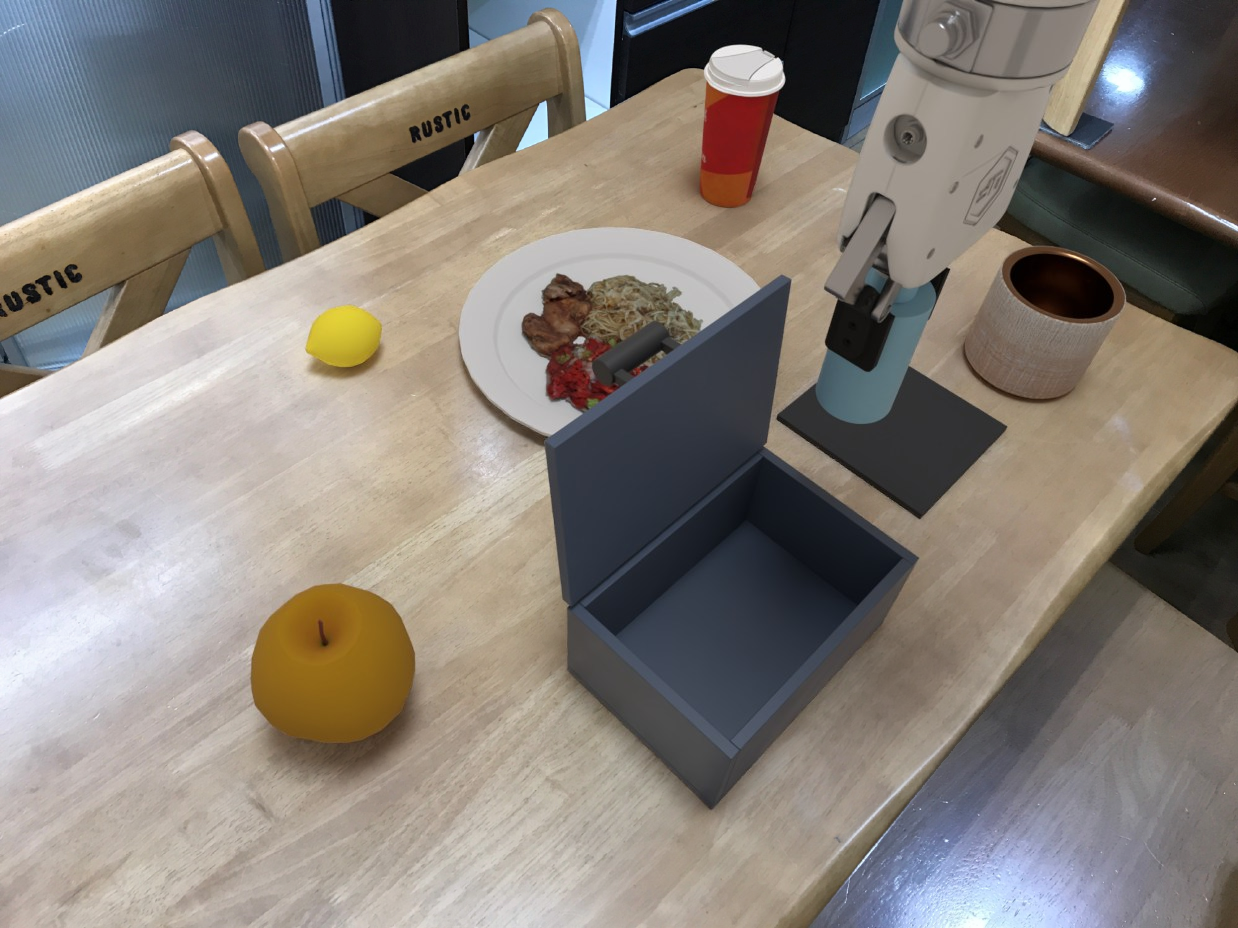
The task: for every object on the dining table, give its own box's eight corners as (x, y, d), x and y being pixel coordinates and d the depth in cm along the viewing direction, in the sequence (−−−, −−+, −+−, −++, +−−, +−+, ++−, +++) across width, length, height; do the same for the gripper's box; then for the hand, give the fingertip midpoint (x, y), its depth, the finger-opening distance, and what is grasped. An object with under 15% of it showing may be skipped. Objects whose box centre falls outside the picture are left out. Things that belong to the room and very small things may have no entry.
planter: (1054, 421, 80) (1104, 343, 72) (943, 367, 84) (979, 287, 76) (1094, 356, 85) (1144, 278, 78) (987, 308, 89) (1025, 229, 82)
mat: (1005, 430, 79) (1007, 426, 78) (919, 519, 72) (922, 514, 72) (866, 344, 85) (867, 340, 85) (776, 418, 78) (777, 414, 78)
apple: (278, 790, 56) (222, 716, 47) (278, 654, 62) (228, 565, 53) (433, 757, 58) (407, 679, 49) (419, 628, 64) (393, 537, 55)
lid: (792, 279, 54) (728, 246, 56) (554, 448, 45) (490, 401, 47) (767, 443, 64) (714, 410, 67) (570, 607, 55) (518, 561, 58)
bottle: (906, 396, 56) (965, 260, 47) (864, 436, 53) (917, 301, 45) (843, 357, 58) (889, 221, 49) (800, 394, 55) (840, 257, 47)
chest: (883, 621, 66) (919, 557, 59) (711, 810, 57) (731, 759, 50) (743, 514, 72) (761, 444, 65) (566, 669, 63) (566, 607, 56)
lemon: (375, 328, 84) (365, 283, 79) (397, 364, 81) (388, 319, 76) (302, 353, 81) (288, 308, 77) (322, 391, 78) (308, 346, 74)
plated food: (742, 237, 95) (747, 210, 92) (813, 451, 76) (822, 425, 74) (459, 247, 92) (456, 220, 89) (461, 474, 73) (457, 447, 70)
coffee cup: (726, 163, 104) (746, 34, 92) (777, 196, 100) (804, 67, 88) (673, 187, 100) (687, 57, 88) (723, 223, 96) (745, 91, 85)
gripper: (970, 121, 32) (847, 447, 46) (1159, -13, 40) (1004, 299, 54) (802, 45, 35) (734, 373, 49) (1009, -65, 43) (900, 243, 57)
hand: (877, 331), depth 51 cm, fingers closed on bottle, 4 cm apart
